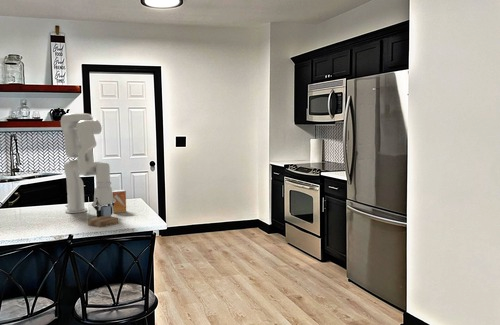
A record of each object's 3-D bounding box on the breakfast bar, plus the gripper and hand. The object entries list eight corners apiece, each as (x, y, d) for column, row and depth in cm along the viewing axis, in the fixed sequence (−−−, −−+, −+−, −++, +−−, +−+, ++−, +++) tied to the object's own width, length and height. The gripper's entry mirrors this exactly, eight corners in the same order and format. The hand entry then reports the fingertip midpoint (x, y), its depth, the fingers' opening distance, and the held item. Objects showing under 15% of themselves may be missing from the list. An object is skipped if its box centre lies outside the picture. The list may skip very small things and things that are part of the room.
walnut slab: (88, 224, 247) (88, 219, 246) (104, 220, 256) (104, 215, 255) (101, 227, 241) (101, 221, 240) (118, 223, 250) (118, 217, 250)
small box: (113, 213, 276) (112, 191, 275) (110, 211, 281) (109, 190, 280) (126, 211, 281) (125, 190, 279) (123, 210, 286) (122, 189, 285)
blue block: (98, 218, 262) (97, 206, 261) (105, 217, 266) (104, 205, 265) (104, 219, 259) (103, 207, 258) (111, 218, 263) (110, 206, 263)
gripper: (111, 182, 270) (112, 212, 272) (86, 186, 255) (87, 218, 257) (119, 183, 266) (121, 213, 268) (95, 187, 251) (96, 219, 253)
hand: (104, 215), depth 262 cm, fingers open, 7 cm apart
